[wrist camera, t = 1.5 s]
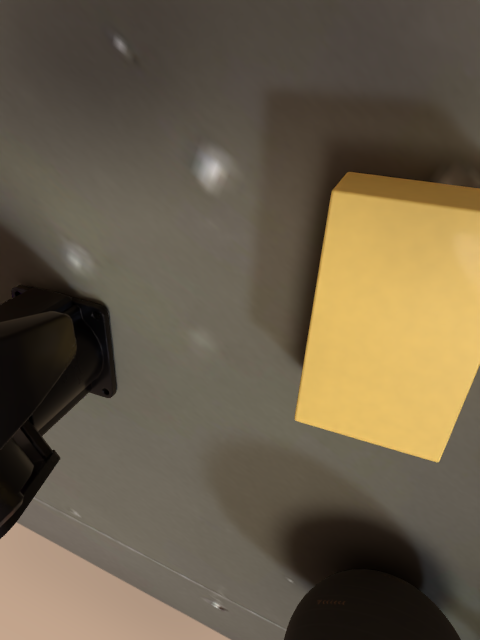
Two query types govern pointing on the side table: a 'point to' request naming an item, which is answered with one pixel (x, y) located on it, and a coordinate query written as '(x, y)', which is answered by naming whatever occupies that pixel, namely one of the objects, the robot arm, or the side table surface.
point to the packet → (394, 313)
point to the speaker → (367, 610)
